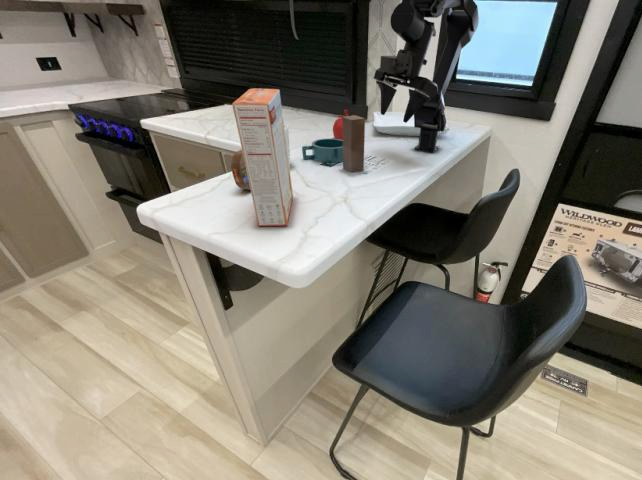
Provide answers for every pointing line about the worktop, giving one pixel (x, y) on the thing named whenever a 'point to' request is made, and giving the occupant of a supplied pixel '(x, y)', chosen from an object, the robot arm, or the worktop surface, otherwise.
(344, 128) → the block
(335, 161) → the teal mug
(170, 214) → the worktop surface
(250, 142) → the cracker box
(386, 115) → the square plate
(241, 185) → the tin
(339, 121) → the pomegranate
